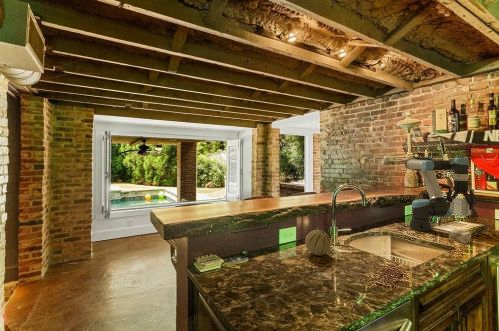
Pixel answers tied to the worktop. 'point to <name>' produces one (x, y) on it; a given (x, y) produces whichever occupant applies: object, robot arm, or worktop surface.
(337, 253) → the worktop surface
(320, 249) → the cantaloupe
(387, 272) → the chocolate bar
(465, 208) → the small box
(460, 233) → the pedestal block
